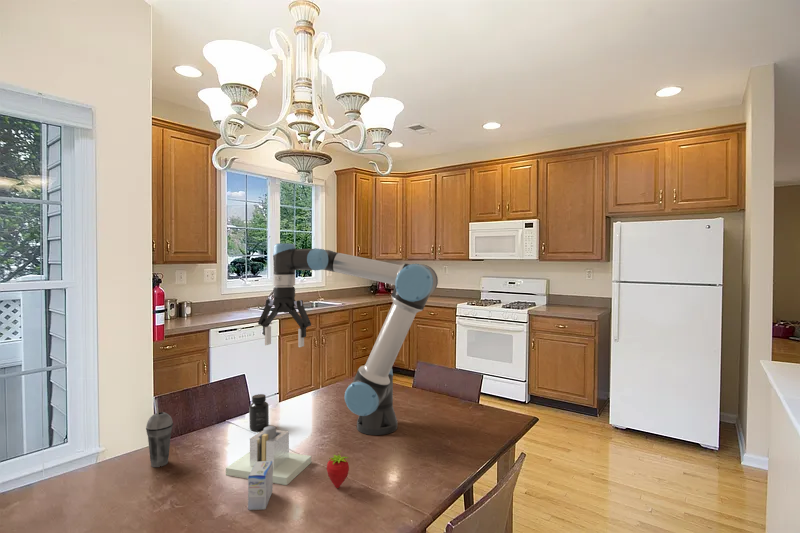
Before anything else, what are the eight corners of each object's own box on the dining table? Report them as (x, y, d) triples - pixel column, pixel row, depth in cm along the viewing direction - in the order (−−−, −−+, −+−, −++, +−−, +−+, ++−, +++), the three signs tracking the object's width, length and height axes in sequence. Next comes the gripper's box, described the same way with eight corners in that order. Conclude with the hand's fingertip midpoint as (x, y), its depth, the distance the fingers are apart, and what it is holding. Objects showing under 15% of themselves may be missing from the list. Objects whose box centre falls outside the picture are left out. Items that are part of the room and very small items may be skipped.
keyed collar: (249, 466, 123) (249, 438, 123) (266, 454, 131) (266, 428, 131) (273, 469, 121) (273, 442, 121) (288, 457, 128) (288, 431, 128)
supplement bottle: (271, 424, 160) (271, 393, 160) (264, 432, 153) (264, 399, 153) (254, 424, 161) (254, 392, 160) (246, 431, 154) (246, 398, 154)
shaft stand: (225, 474, 122) (225, 433, 122) (255, 454, 135) (255, 416, 135) (286, 485, 116) (286, 441, 116) (311, 462, 129) (311, 423, 129)
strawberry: (343, 478, 120) (343, 443, 120) (352, 491, 113) (352, 454, 113) (323, 483, 117) (323, 447, 117) (331, 496, 110) (331, 458, 110)
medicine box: (255, 493, 112) (255, 461, 112) (273, 492, 112) (273, 460, 112) (247, 510, 104) (247, 475, 104) (266, 509, 104) (266, 475, 104)
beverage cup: (178, 460, 131) (178, 396, 131) (158, 471, 124) (158, 403, 124) (160, 456, 133) (160, 393, 133) (139, 467, 126) (139, 400, 126)
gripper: (248, 286, 151) (248, 345, 151) (310, 287, 144) (310, 349, 144) (260, 285, 158) (260, 341, 159) (320, 286, 151) (320, 345, 151)
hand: (284, 345), depth 151 cm, fingers open, 13 cm apart
